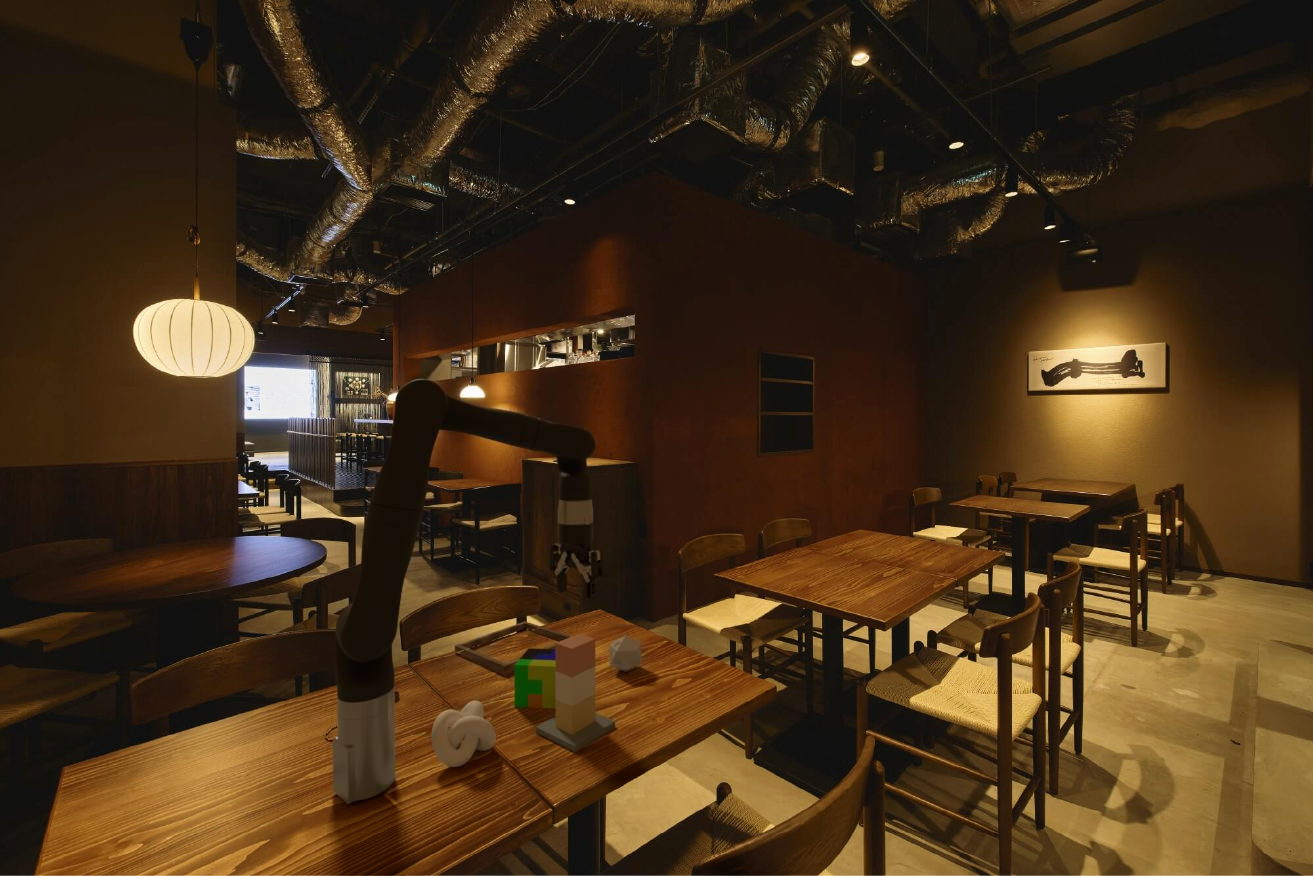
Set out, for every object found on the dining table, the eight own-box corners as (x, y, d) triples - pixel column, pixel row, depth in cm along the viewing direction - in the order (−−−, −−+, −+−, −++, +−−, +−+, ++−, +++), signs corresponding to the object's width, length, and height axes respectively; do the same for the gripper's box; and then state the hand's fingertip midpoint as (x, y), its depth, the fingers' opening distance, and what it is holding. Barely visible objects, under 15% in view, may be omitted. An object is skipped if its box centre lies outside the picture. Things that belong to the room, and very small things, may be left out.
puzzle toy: (567, 689, 135) (567, 649, 135) (556, 709, 125) (555, 666, 125) (528, 687, 136) (528, 648, 136) (514, 707, 126) (514, 664, 126)
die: (604, 669, 147) (604, 632, 147) (635, 663, 151) (634, 627, 151) (615, 682, 139) (615, 643, 139) (647, 675, 143) (647, 637, 143)
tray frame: (504, 677, 142) (504, 666, 142) (454, 655, 156) (454, 645, 156) (575, 647, 162) (575, 637, 162) (525, 630, 176) (525, 621, 176)
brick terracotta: (571, 677, 112) (571, 648, 112) (555, 671, 115) (555, 643, 115) (595, 666, 118) (595, 638, 118) (579, 660, 121) (579, 633, 121)
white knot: (432, 743, 112) (432, 700, 112) (493, 732, 116) (492, 690, 116) (431, 776, 101) (430, 728, 101) (497, 761, 105) (497, 716, 105)
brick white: (571, 706, 112) (571, 677, 112) (555, 699, 115) (555, 671, 115) (595, 693, 118) (595, 666, 118) (579, 687, 121) (579, 660, 121)
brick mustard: (571, 735, 112) (571, 706, 112) (555, 727, 115) (555, 699, 115) (595, 720, 118) (595, 693, 118) (579, 713, 121) (579, 687, 121)
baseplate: (575, 752, 108) (575, 746, 108) (535, 732, 115) (535, 726, 115) (615, 726, 118) (615, 721, 118) (576, 709, 125) (576, 704, 125)
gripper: (540, 519, 118) (540, 593, 118) (586, 525, 109) (586, 605, 109) (565, 515, 124) (565, 586, 124) (611, 521, 115) (611, 597, 115)
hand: (575, 595), depth 117 cm, fingers open, 8 cm apart
